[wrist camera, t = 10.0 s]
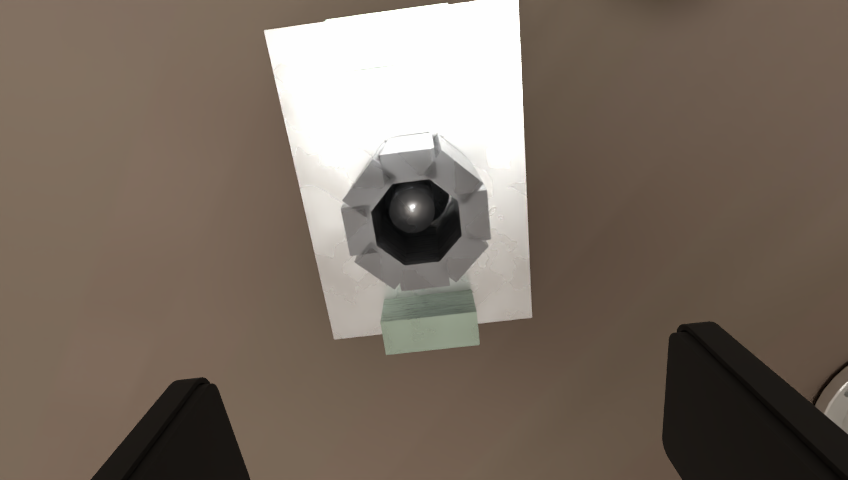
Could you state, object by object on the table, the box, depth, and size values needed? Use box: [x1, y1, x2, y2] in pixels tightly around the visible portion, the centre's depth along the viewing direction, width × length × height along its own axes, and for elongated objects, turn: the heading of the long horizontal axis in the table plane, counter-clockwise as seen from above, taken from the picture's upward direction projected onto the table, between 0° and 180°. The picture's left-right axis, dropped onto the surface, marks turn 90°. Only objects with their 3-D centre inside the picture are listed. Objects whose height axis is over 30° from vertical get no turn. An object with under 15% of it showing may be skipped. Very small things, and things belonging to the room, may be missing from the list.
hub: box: [341, 133, 491, 291], centre depth 24 cm, size 7×7×6 cm
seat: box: [264, 0, 532, 355], centre depth 26 cm, size 20×14×6 cm
